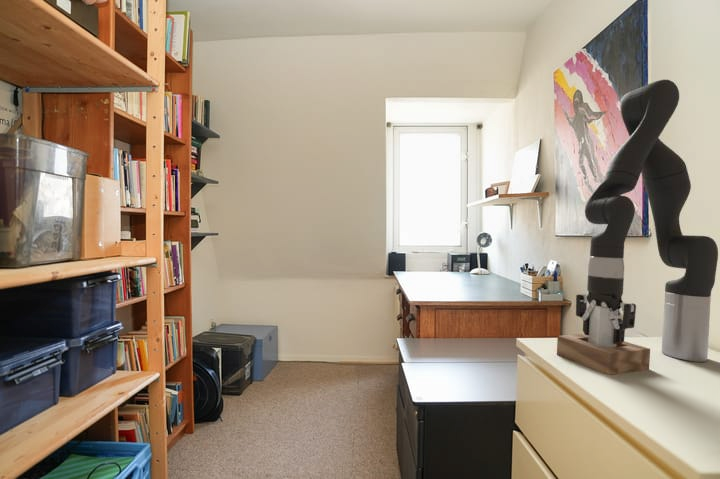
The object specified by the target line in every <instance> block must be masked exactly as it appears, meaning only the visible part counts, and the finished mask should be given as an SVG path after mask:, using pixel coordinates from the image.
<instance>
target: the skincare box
mask: <svg viewBox="0 0 720 479" xmlns="http://www.w3.org/2000/svg"><path fill="white" fill-rule="evenodd" d="M610 310H611V311H612V309H611V308H610ZM619 310H620V309H616V311H612V313H613V315H614V316H618V311H619ZM608 313H609V309H608V308H604V307H602V306H597V305H595V307H594V309H593V311H592V314H591V315H590V320H589V338H588V342H589V343H592V344H595V345H598V346H601V347H604V348H614V347H617V344H614V343H613V337H614V329H616V328H615V327H614V325H613V323H612V321H611V320H609V318H608ZM617 320H618V319H617Z"/></svg>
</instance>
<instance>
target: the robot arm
mask: <svg viewBox="0 0 720 479" xmlns="http://www.w3.org/2000/svg"><path fill="white" fill-rule="evenodd" d="M679 101H680V90H679V87H678V86H677V84H676V83H675V82H674V81H672V80H671V79H660V80H656V81H653V82H650V83H648V84H646V85H644V86H641V87H638V88H636V89H633V90H630V91H628V92H627V93H625V94H624V95H623V96H622V97H621V99H620V104H619V105H620V106H619V110H620V116H621V118H622V121H623V124H624V126H625V129H626V131H627V133H628V136H629V137H628V138H627V139H626V140H625V142H624V143H623V144H622V145H621V146H620V147H619V149H618V150H617V151H616V152H615V154H614V155H613V157H612V159H611V161H610V162H609V165H608V168H607V171H606V172H605V175H604V178H603V180H602V181H601V182H600V183H599V184H598V186H597V188H596V189H595V190H594V192H593V193H592V194H591V195H590V196H589V199H588V200H587V202H586V204H585V209H584V215H585V218H586V221H588V222H589V223H590V224H593V225H607V226H606V228H605V230H604V231H603V232H601V233H596V234H593V236H592V237H591V239H590V250H589V261H588V266H587V267H588V269H587V285H586V286H587V287H586V289H587V292H588V294H587V295H586V294H584V293H580V294H576V296H575V297H576V298H575V316H576V317H578V318H579V317H580V318H581V320H582V332H583V334H585V335H589V320H590V315H591V314H592V311H593V309H594V307H595V305H597V306H602V307H604V308H608V309H609V313H608V318H609V320H611V321H612V323H613V325H614V327H615V328H616V329H614V337H613V343H614V344H622V342H624V341H625V335H626V334H625V332H626V329H633V328H635V323H636V313H637V312H636V311H637V305H636V304H635V303H627V302H624V301H623V299H622V298H623V297H622V296H623V294H624V278H625V262H624V260H625V258H624V254H625V241H626V239H627V237H628V234H629V231H630V228H631V225H632V223H633V221H634V218H635V214H636V211H635V210H636V207H635V204H634V202H633V200H632V199H631V198H629V197H628V196H626V195H624V194H628V193H630V192H631V191H634V189H635V188H636V186H637V184H638V181H639V178H640V176H641V177H642V181H643V184H644V189H645V192H646V195H647V198H648V201H649V206H650V209H651V215H652V218H653V223H654V229H655V237H656V243H657V249H658V254H659V257H660V259H661V261H662V263H663V264H664V265H665V266H667V267H669V268H675V269H682V270H683V269H685V272H684V275H683V276H682V277H679V278H678V279H673V280H669V281H667V282H666V283H665V285H664V287H665V288H664V300H663V301H664V303H663V304H664V305H663V321H662V338H661V339H662V340H661V353H662V354H664V355H666V356H669V357H672V358H676V359H680V360H684V361H691V362H699V363H700V362H701V363H704V362H707V361H708V354H709V338H710V337H709V336H710V318H711V317H710V316H711V314H710V313H711V302H712V301H711V300H712V291H713V288H714V287H715V282H716V274H717V269H718V268H717V266H718V261H719V259H718V258H719V248H718V245H717V243H716V241H715V239H713V238H712V237H710V236H708V235H707V236H705V235H685V234H683V233H682V229H681V225H680V224H681V223H680V216H681V215H680V214H681V212H682V210H683V207H684V206H685V204H686V202H687V200H688V197H689V195H690V193H691V190H692V184H691V179H690V175H689V172H688V167H687V164H686V163H685V161H684V160H683V158H681V156H680V155H678V153H676V151H674V150H673V149H671V147H669V146H667V145H666V144H665V143H664V142H663V141H662V140H661V139H660V138H659V137H660V136H661V134H662V133H663V131H664V129H665V128H666V126H667V124H668V123H669V121H670V119H671V118H672V116H673V115H674V113H675V111H676V109H677V108H678V105H679ZM587 304H588V305H587ZM610 308H611V309H612V311H616V309H619V311H618V316H614V315H613V313H612V311H611V310H610ZM621 311H622V312H621ZM617 319H618V320H617Z"/></svg>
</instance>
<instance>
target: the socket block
mask: <svg viewBox="0 0 720 479" xmlns="http://www.w3.org/2000/svg"><path fill="white" fill-rule="evenodd" d="M588 338H589V335H585V334H584V333H576V334H564V335H563V334H562V335H557V340H556V342H557V343H556V344H557V345H556V355H557V356H560V357H562V358H566V359H568V360H570V361H573V362H575V363H578V364H580V365H583V366H585V367H588V368H590V369H593V370H595V371H598V372H601V373H603V374H606V375H608V376H612V375H617V374H624V373H632V372H639V371H645V370H650V361H651V360H650V359H651V348H650V347H649V348H648V347H645V346H642V345H639V344H635V343H632V342H628V341H625V340H624V342H622V344H617V347H614V348H604V347H601V346H598V345H595V344H592V343H589V342H588Z"/></svg>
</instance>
